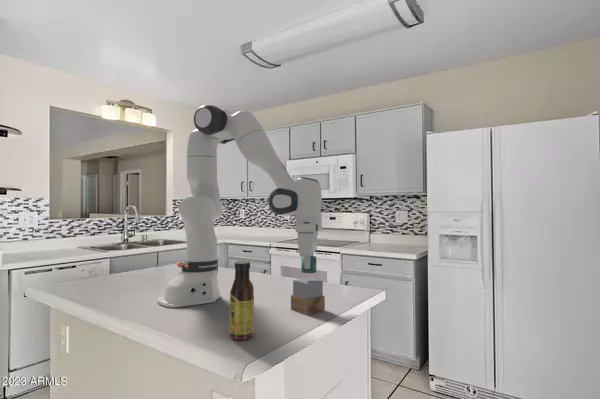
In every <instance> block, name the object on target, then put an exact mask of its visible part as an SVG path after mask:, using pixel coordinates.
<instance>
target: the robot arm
mask: <svg viewBox="0 0 600 399" xmlns="http://www.w3.org/2000/svg"><path fill="white" fill-rule="evenodd" d="M193 125H194V126H195V128H196V129H194V130H192V131H191V132H190V133H189V136H188V140H187V146H186V179H187V182H188V184H189V187H190V191H191V192H190V193H191V194H190V195H187V196H186V197H184V198H183V199H182V200H181V202H180V203H179V207H178V212H179V215H180V217H181V218H182V222H183V225H184V227H183V228H184V231H185V232H184V233H185V238H186V260H185V261H184V262H182V261H177V263H176V266H177V267H178V268H181V271H180V272H179V273H178V274H177V275H175V276H174V277H173V278H172V279H170V280H169V281H168V282H167V283H166V284H165V287H164V293H163V296H159V297H158V298H157V303H158V304H159V305H161V306H162V307H166V308H180V307H187V306H195V305H202V304H203V305H205V304H211V303H212V304H213V303H216V301H217V300H218V299H220V298H221V297H222V296H221V292H220V287H219V280H218V271H219V261H218V260H219V259H218V238H217V236H216V231H215V227H214V222H215V221H216V220H218V219H219V217H220V216H221V215H222V213H223V204H222V202H221V196H220V194H221V193H220V189H219V183H218V182H219V181H218V155H217V151H218V150H217V149H218V145H219V144H222V145H225V144H227V143H230V142H235V144H236V146H237V147H238V150H239V151H240V154H242V155H243V158H244V159H246V160H247V162H248V163H250V164H252V165H253V166H254V165H255V166H256V167H258V168H260V169H261V170H262V171H264V172H266V174H268V176H270V178H271V180H272V181H273V183H274V185H275V186H276V189H275V188H274V189H273V190H272V191H271V192H270V194H269V196H268V200H267V201H268V206H269V209H270V211H271V212H272V213H273V214H275V215H278V216H285V217H286V216H289V217H295V233H297V245H298V247H297V249H298V255H299V257H304V263H305V269H310V267H311V263H310V258H311V256H314V253H315V252H316V250H317V249H318V244H317V243H318V242H317V241H318V240H317V239H318V236H319V232H321V231H323V219H322V218H323V216H322V210H321V209H322V203H323V202H322V200H323V198H322V197H323V196H322V187H321V184H320V183H321V182H319V180H317V179H315V178H311V177H305V176H300V177H298V178H296V179H295V180H293V179H292V177H291V175H290V174H289V172H288V171H287V169H286V168H285V166H284V164H283V163H282V161H281V160H280V157H279V156H278V154H277V153H276V150H275V149H274V147H273V144H272V142H271V141H270V139H269V137H268V135H267V133H266V131H265V129H264V128H263V126H262V124H261V123H260V121H259V120H258V119H257V118H256V117H255V116H254V114H253V113H252V112H251V111H249V110H245V109H244V110H239V111H237V112H235V113H232V112H231V111H229V110H227V109H224V108H220V107H218V106H217V105H216V106H215V105H212V104H203V105H201V106H199V107H198V108H197V109H196V110H195V112H194V115H193Z"/></svg>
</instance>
